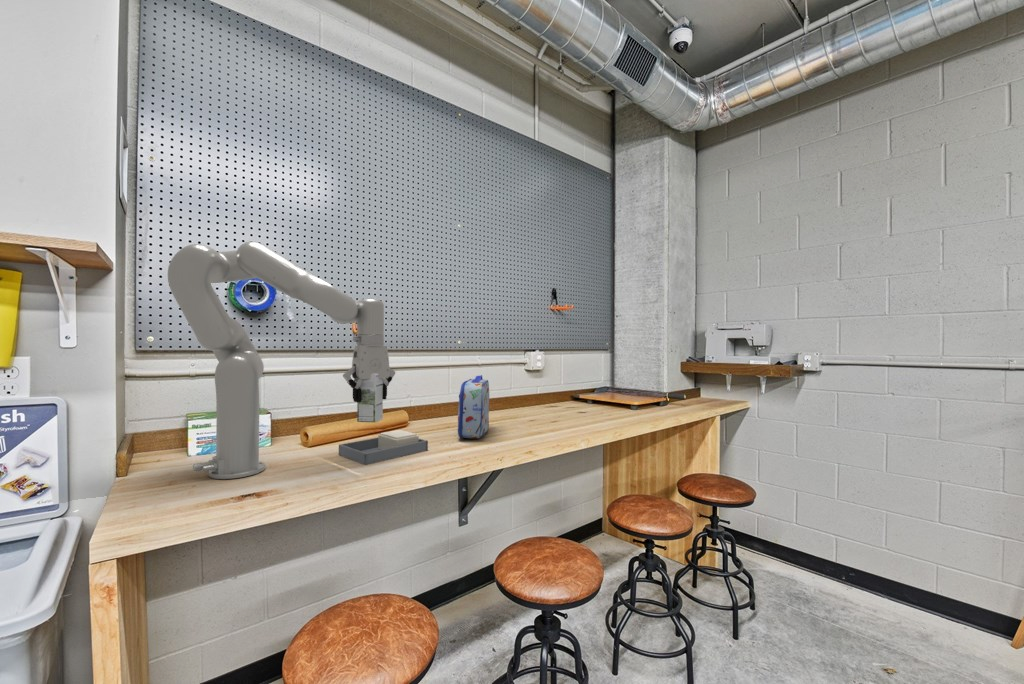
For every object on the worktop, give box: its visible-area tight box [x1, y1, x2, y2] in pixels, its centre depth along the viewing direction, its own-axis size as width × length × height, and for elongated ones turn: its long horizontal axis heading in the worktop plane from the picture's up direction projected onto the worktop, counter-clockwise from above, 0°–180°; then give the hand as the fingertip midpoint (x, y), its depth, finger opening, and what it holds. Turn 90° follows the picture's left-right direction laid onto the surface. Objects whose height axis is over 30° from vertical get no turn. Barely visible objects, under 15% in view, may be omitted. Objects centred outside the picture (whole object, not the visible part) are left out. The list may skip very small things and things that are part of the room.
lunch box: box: [457, 374, 490, 439], centre depth 160 cm, size 28×10×22 cm, turn 179°
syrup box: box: [356, 373, 384, 423], centre depth 125 cm, size 6×6×14 cm
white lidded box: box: [377, 429, 420, 450], centre depth 133 cm, size 8×10×5 cm
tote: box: [338, 437, 429, 466], centre depth 129 cm, size 21×15×4 cm
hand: (370, 400), depth 125 cm, fingers closed on syrup box, 7 cm apart
